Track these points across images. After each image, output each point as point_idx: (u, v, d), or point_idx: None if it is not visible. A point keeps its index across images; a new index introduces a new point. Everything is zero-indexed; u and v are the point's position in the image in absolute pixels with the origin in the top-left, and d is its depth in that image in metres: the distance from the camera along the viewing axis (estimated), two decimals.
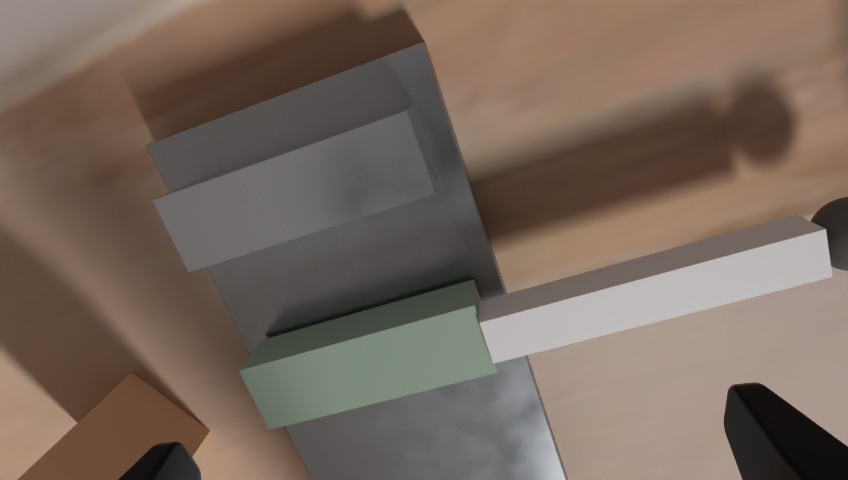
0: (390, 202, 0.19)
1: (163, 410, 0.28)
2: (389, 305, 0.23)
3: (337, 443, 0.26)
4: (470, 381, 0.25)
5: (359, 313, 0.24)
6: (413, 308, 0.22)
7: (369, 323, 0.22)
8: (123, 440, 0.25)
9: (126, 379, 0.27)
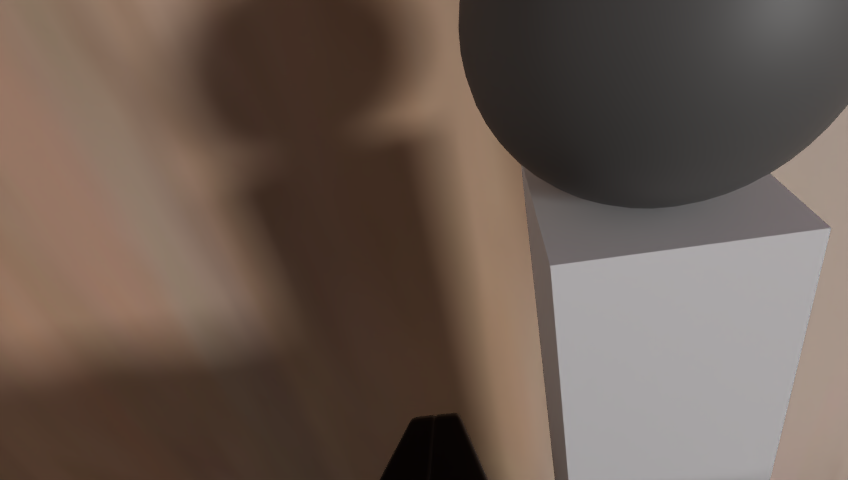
0: None
1: None
2: None
3: None
4: None
5: None
6: None
7: None
8: None
9: None
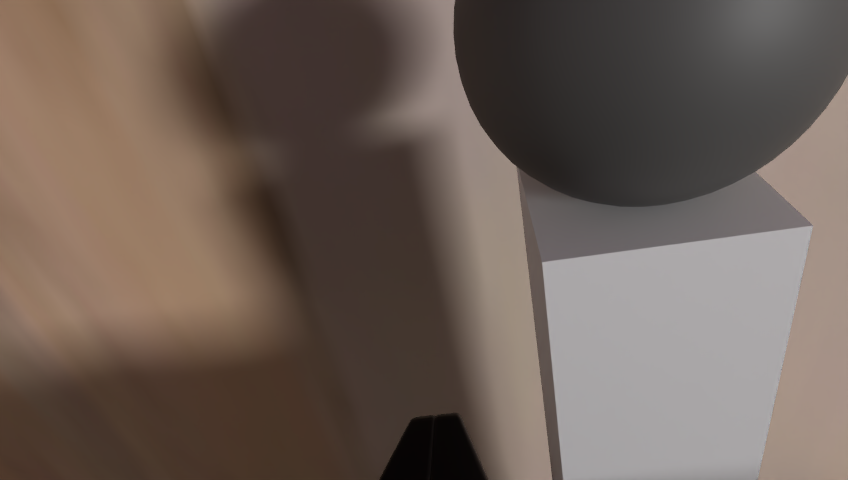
0: None
1: None
2: None
3: None
4: None
5: None
6: None
7: None
8: None
9: None
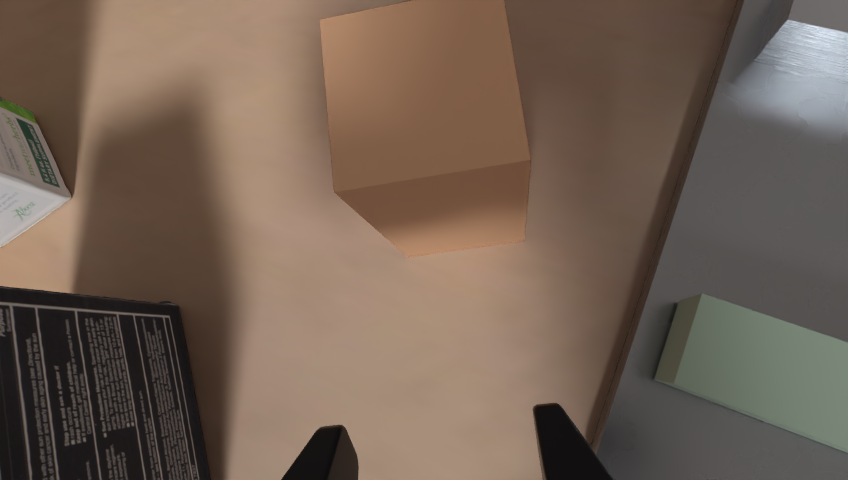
0: None
1: None
2: None
3: None
4: None
5: None
6: None
7: None
8: None
9: None
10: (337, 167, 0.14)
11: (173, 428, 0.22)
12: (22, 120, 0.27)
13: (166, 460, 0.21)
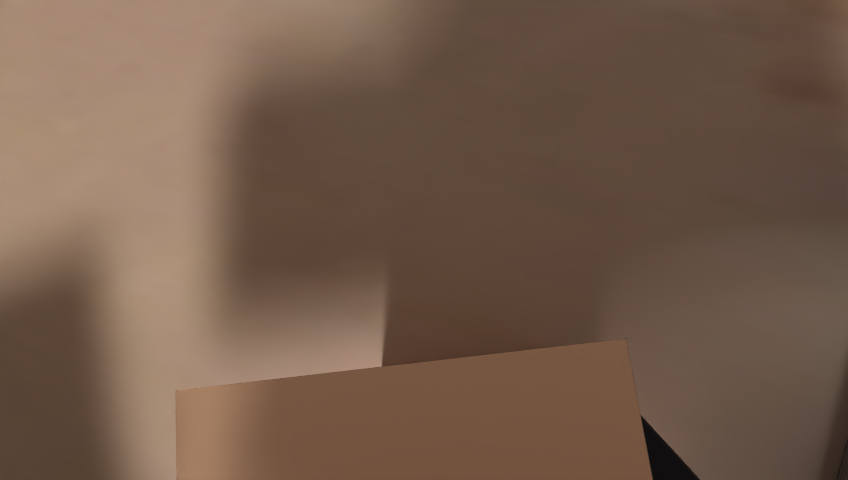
0: None
1: None
2: None
3: None
4: None
5: None
6: None
7: None
8: None
9: None
10: None
11: None
12: None
13: None
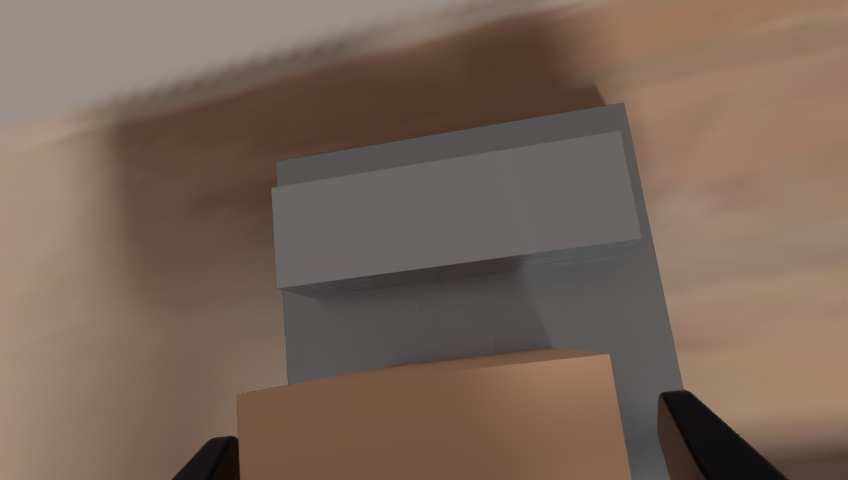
0: (576, 239, 0.14)
1: None
2: None
3: None
4: None
5: None
6: None
7: None
8: None
9: None
10: None
11: None
12: None
13: None
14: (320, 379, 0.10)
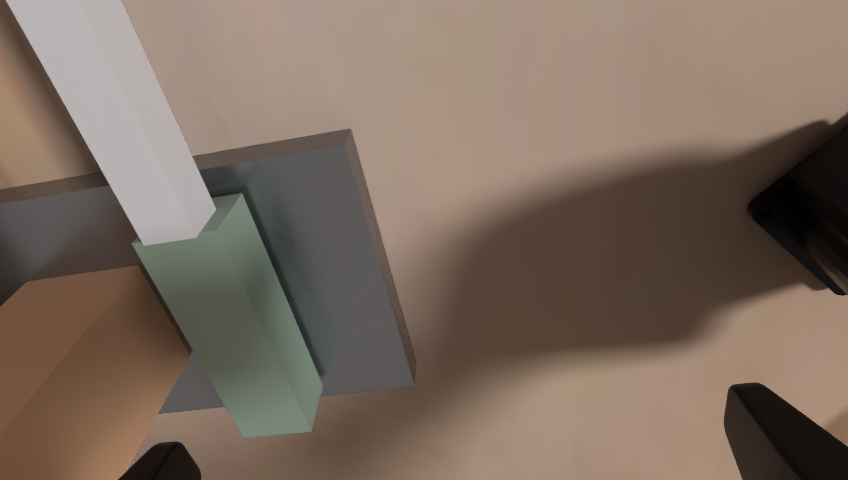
0: None
1: (70, 284, 0.21)
2: None
3: None
4: None
5: None
6: None
7: None
8: (13, 333, 0.19)
9: (19, 290, 0.22)
10: None
11: None
12: None
13: None
14: None
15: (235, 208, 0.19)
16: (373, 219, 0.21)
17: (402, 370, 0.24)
